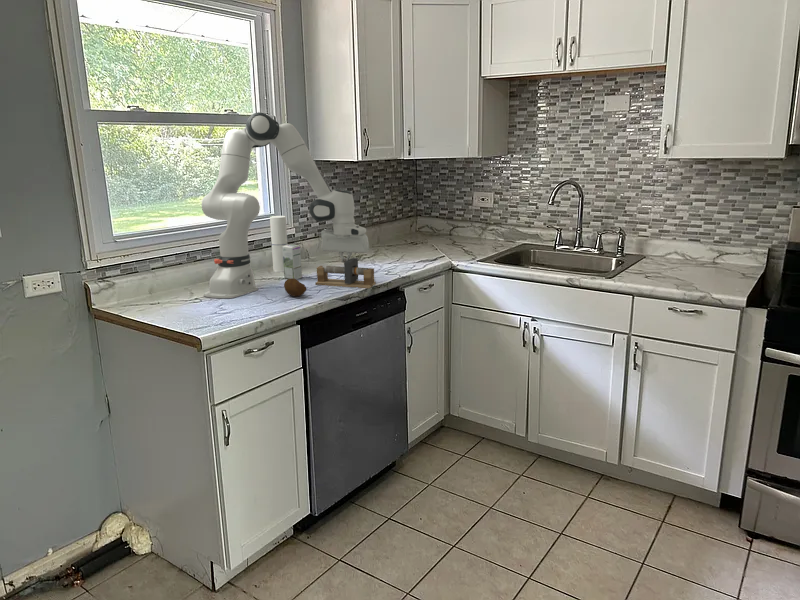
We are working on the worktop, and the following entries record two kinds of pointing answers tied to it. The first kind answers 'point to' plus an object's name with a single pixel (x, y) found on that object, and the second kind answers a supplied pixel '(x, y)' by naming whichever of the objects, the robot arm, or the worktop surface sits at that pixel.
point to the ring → (350, 270)
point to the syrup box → (292, 261)
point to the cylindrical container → (278, 241)
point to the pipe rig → (323, 280)
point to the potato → (294, 287)
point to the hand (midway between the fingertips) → (345, 262)
